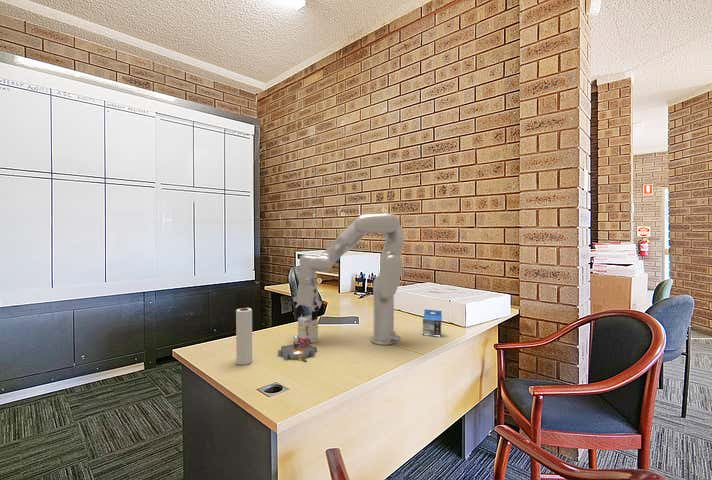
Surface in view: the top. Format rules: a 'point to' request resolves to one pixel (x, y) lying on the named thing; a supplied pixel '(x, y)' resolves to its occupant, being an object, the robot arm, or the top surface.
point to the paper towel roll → (244, 336)
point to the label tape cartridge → (432, 322)
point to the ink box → (307, 330)
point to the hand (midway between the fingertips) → (306, 317)
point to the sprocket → (297, 351)
